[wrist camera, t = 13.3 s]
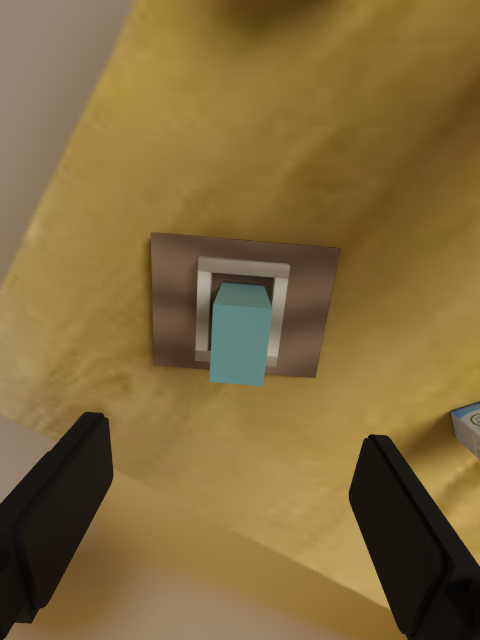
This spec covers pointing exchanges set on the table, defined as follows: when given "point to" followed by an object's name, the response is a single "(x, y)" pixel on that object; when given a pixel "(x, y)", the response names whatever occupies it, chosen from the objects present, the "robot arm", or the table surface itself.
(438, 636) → the robot arm
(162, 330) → the socket block
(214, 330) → the plug
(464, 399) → the table surface
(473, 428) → the medicine box
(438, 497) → the table surface
